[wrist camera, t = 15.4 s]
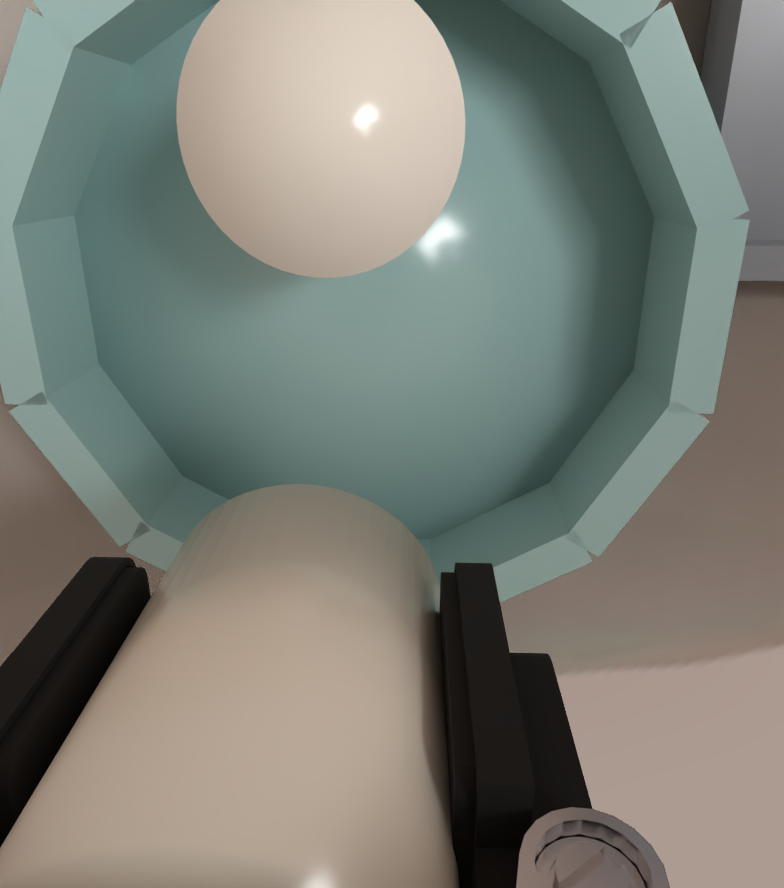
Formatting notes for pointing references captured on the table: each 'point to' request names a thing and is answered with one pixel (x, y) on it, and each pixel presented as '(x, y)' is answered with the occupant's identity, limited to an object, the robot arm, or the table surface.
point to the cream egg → (321, 129)
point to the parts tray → (751, 119)
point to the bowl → (375, 292)
